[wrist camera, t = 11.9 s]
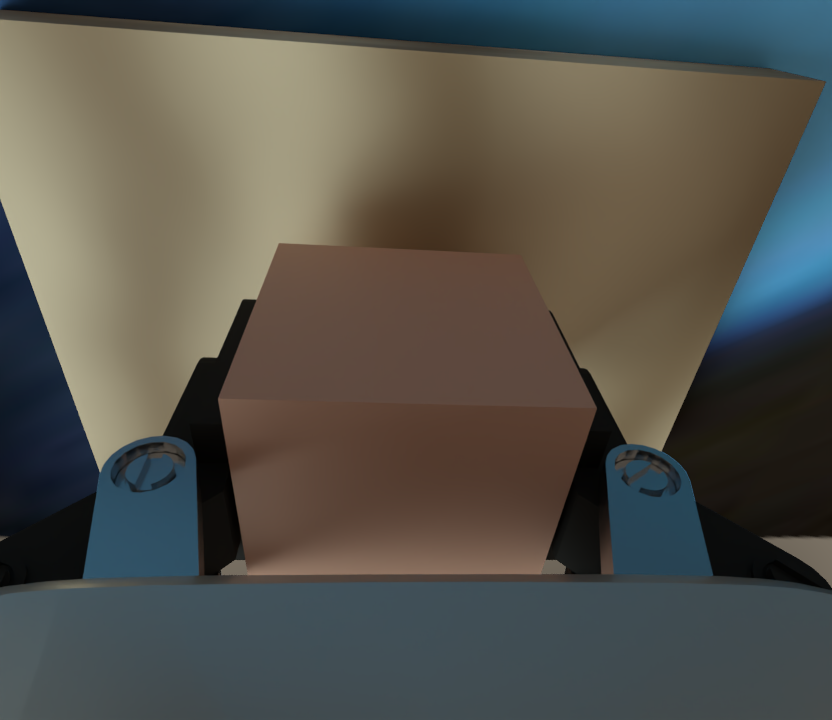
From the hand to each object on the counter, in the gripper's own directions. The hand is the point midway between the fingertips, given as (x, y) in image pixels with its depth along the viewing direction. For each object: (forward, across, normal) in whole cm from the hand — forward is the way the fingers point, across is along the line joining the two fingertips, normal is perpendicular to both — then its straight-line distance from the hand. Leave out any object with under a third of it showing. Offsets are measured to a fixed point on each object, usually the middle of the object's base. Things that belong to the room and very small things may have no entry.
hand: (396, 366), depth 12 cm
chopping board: (+4, 0, 0) cm, 4 cm away
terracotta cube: (+1, 0, 0) cm, 1 cm away
